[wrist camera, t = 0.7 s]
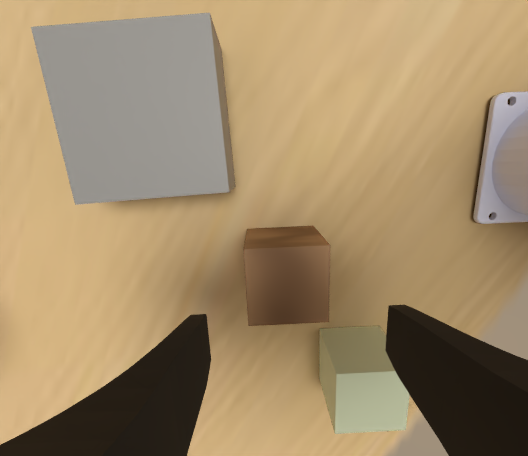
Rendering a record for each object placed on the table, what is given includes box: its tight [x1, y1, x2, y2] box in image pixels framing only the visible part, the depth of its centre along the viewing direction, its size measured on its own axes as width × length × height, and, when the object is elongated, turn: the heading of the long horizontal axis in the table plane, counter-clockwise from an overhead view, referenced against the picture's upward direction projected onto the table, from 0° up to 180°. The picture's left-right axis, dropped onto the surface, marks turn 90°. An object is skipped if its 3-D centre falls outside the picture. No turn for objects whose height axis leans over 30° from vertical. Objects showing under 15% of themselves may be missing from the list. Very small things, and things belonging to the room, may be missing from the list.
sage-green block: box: [319, 326, 410, 434], centre depth 18 cm, size 4×4×4 cm
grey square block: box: [31, 13, 235, 205], centre depth 15 cm, size 8×8×4 cm
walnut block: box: [244, 226, 330, 326], centre depth 16 cm, size 4×4×4 cm
